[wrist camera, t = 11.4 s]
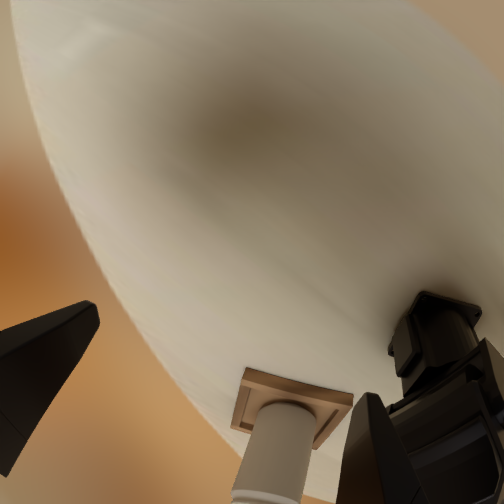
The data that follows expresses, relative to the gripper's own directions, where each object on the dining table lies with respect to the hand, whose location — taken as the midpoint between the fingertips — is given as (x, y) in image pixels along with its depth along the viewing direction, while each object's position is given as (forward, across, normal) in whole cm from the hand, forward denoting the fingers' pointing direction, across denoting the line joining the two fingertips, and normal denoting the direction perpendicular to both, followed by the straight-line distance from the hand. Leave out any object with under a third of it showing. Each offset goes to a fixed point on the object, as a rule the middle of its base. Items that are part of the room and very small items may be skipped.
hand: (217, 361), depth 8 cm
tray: (+13, -5, +22) cm, 26 cm away
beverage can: (+13, -5, +22) cm, 25 cm away
